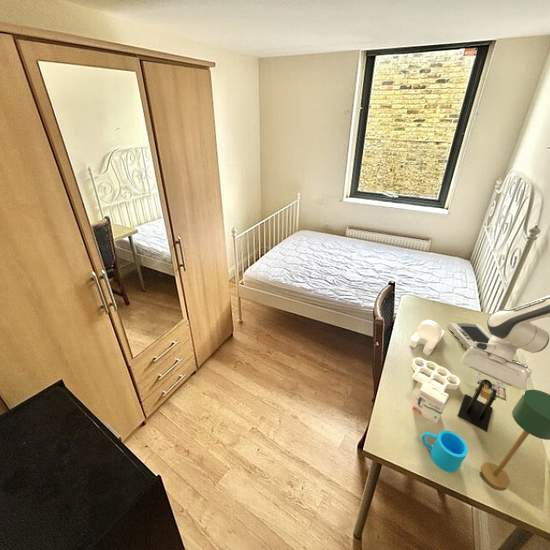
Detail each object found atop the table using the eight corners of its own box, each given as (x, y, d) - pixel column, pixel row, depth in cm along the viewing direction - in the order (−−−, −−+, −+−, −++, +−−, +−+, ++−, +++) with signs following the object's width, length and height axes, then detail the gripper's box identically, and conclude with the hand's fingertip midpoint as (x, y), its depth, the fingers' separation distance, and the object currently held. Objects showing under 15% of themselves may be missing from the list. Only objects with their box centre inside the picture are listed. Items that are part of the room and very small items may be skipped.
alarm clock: (449, 322, 147) (481, 320, 147) (447, 329, 149) (478, 327, 149) (470, 346, 132) (506, 343, 132) (468, 354, 134) (503, 351, 134)
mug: (461, 456, 92) (470, 441, 88) (456, 478, 87) (465, 463, 83) (421, 433, 99) (428, 418, 95) (414, 452, 93) (421, 436, 89)
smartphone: (504, 376, 121) (505, 374, 121) (504, 402, 110) (506, 400, 110) (482, 368, 125) (483, 366, 125) (479, 391, 114) (481, 389, 114)
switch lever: (479, 384, 111) (483, 376, 110) (489, 389, 109) (493, 381, 108) (477, 396, 101) (481, 388, 100) (489, 402, 99) (493, 393, 98)
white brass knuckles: (403, 375, 120) (417, 357, 130) (449, 402, 110) (461, 381, 119) (405, 370, 119) (419, 352, 128) (452, 397, 108) (464, 375, 117)
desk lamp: (508, 470, 89) (563, 397, 73) (514, 500, 82) (577, 428, 66) (474, 456, 93) (519, 384, 76) (477, 484, 85) (528, 412, 69)
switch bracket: (463, 396, 112) (475, 373, 106) (491, 410, 107) (505, 386, 101) (456, 417, 104) (468, 393, 98) (485, 433, 99) (500, 409, 93)
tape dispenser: (408, 344, 137) (414, 326, 132) (423, 327, 148) (429, 310, 143) (429, 355, 131) (436, 337, 126) (443, 336, 142) (450, 319, 137)
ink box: (410, 411, 106) (419, 388, 100) (415, 402, 110) (424, 380, 104) (435, 426, 101) (446, 404, 95) (440, 416, 105) (450, 394, 99)
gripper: (531, 368, 107) (516, 403, 105) (468, 342, 118) (454, 373, 117) (536, 367, 102) (521, 403, 100) (469, 340, 113) (455, 372, 111)
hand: (484, 387), depth 108 cm, fingers closed on switch lever, 3 cm apart
